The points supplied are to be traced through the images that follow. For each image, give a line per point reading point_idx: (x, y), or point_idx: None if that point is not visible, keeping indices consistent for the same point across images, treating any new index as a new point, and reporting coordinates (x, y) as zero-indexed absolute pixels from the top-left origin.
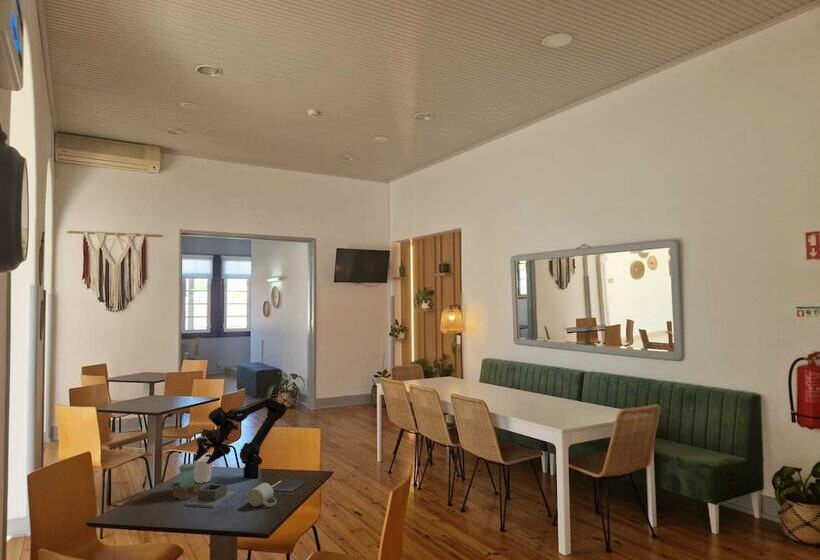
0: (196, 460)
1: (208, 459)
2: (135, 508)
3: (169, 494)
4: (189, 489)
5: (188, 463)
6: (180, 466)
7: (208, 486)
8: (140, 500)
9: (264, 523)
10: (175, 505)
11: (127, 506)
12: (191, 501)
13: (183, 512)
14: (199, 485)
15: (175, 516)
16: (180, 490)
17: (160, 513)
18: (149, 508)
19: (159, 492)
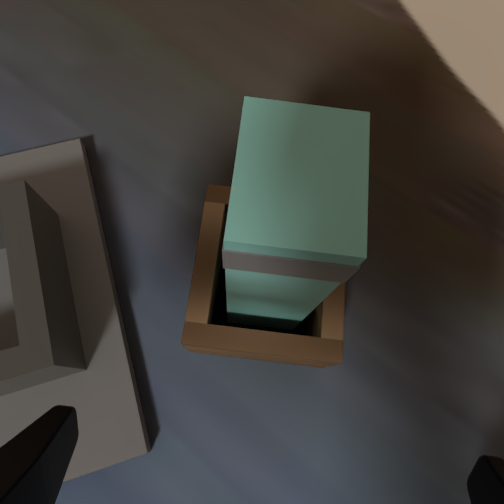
0: (474, 500)
1: (24, 460)
2: (321, 15)
3: (395, 250)
4: (199, 244)
5: (349, 229)
6: (354, 122)
7: (15, 306)
8: (431, 99)
9: None
10: (160, 126)
11: (388, 17)
12: (76, 174)
13: (15, 72)
14: (182, 340)
15: (12, 20)
16: None
17: (128, 18)
18: (254, 41)
19: (496, 247)
